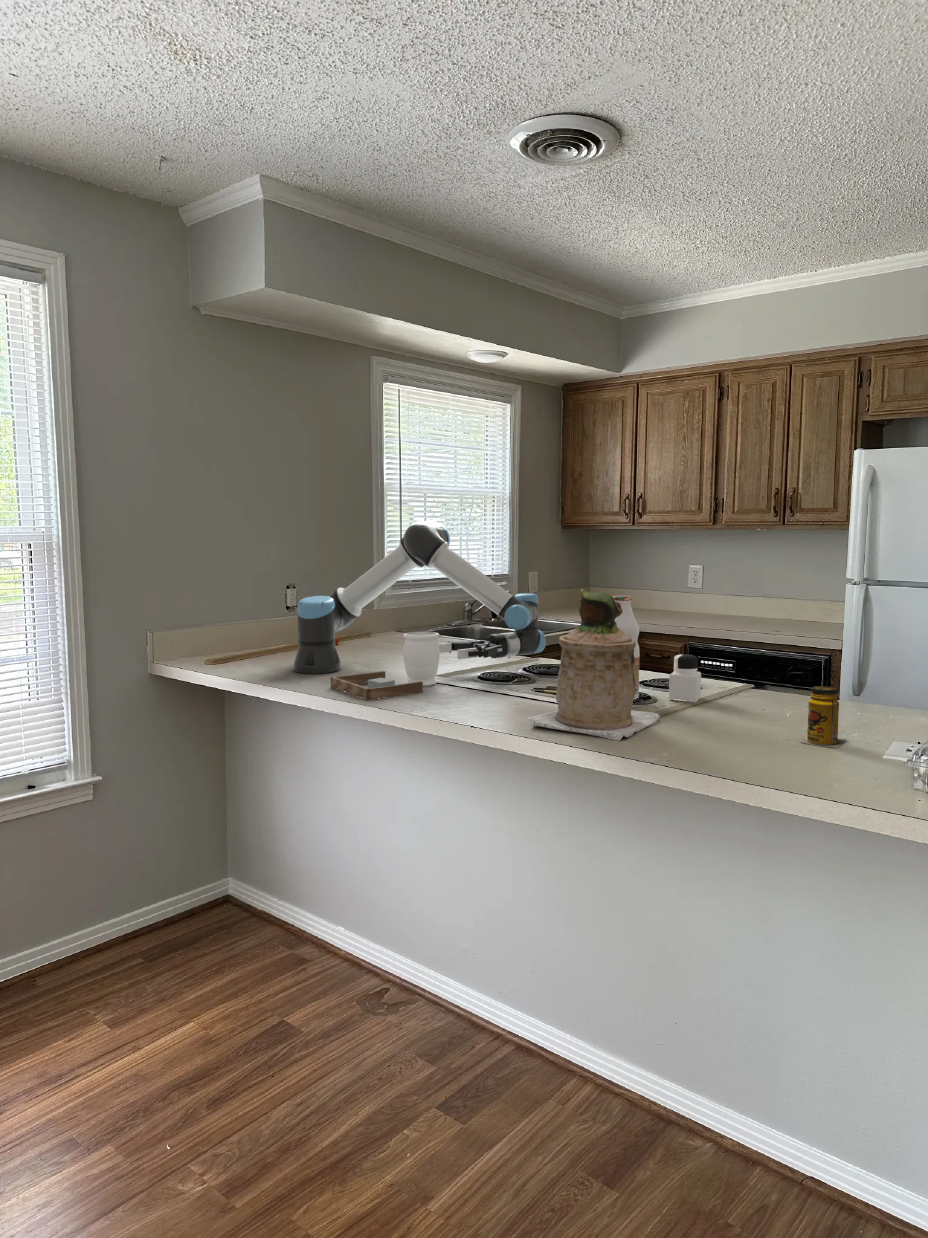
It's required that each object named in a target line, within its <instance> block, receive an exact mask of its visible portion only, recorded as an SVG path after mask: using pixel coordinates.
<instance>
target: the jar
mask: <svg viewBox="0 0 928 1238" xmlns="http://www.w3.org/2000/svg"><path fill="white" fill-rule="evenodd" d="M402 637H403V638H404V639H405V641H404V644H403V649H402V650H403V654H402V656H403V663H404V669H405V673H406V675H407V677H408V680H407V682H406V684H407V683H414V682H423V687H429V686H433V685H436V684H437V680H436V679H435V677H436V676H437V674H438V669H439V664H440V663H439V662H440V654H441V653H440V652H439V644H440V643H439V641H438V638H439V637H440V633H438V632H434V631H410V632H409V631H408V632H405V633H403V635H402Z"/></svg>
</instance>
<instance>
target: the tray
mask: <svg viewBox="0 0 928 1238" xmlns="http://www.w3.org/2000/svg"><path fill="white" fill-rule="evenodd" d="M376 678H385V679H386V671H385V670H382V671H380V670H379V671H373V672H372V671H371V672H364V673H356V674H346V675H339V676H330V688H331V687H333V688H332V689H334V688H337V689H339V690H342V691H346V692H347V693H346V694H348V693H350V694H349V695H351V694H353V695H352V696H354V695H355V696H354V697H356V696H359V697H362V698H364V699H363V700H365V699H367V700H366V701H370V700H369V699H375V700H379V699H378V698H382V699H384V698H383V697H389V698H395V697H394V696H396V697H402V696H410V695H417V694H422V693H423V692H424V686H423V682H414V683H407V682H406V683H401V684H395V685H391V686H384V687H376V688H368V687H365V686H363V685H367V684H366V683H368V680H371V679H376ZM357 684H360V685H357ZM337 689H336V690H337ZM339 690H338V691H339ZM342 691H341V692H342ZM359 697H358V698H359ZM362 698H361V699H362Z"/></svg>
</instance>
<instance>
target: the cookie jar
mask: <svg viewBox="0 0 928 1238" xmlns="http://www.w3.org/2000/svg"><path fill="white" fill-rule="evenodd" d="M579 591H580V596H581V599H580V601H579V603H580V605H579V607H578V608H577V610H578V614H579V617H580V619H581V620H580V621H581V623H580V624H579V625H578V626H577V627H575V628H574V629H573V630H572V631H570V632H569V633H567V634H565V635H564V634H563V635H560V636H559V638H558V644H559V645H560V648H561V655H560V663H559V670H558V673H557V683H556V692H555V693H556V694H555V695H556V696H555V697H556V703H557V707H558V709H555V710H553V711H550V712H544V713H541V714H537V715H534V716H529V717H528V721H529V723H530V727H531V729H534V728H535V727H536V726H537V727H543V728H547V729H552V730H559V731H566V732H570V733H571V732H572V733H573V732H574V733H578V734H583V735H584V734H585V735H590V736H596V737H601V738H605V739H609V740H614V741H621V740H622V738H623V737H625V738H630V737H631V736H632V735H634V734H635V733H638V732H640V731H642V730H644V729H645V728H648V727H649V726H651V725H654V724H656V723H657V722H658V721H659V720H660V718H661V716H660V714H659V713H656V712H652V711H640V710H632V707H633V705H634V703H633V700H634V696H635V680H634V674H633V665H634V660H635V658H634V648H635V646H636V641H635V640H634V639H632V638H631V637H630V636H629V635H628V634H627V633H626V632H624V631H621V630H620V629H619V628H618V627H617V624H616V622H615V618H616V617H618V616H620V615H621V614H622V612H623V610H622V608H621V605H620V603H619V602H617V601H614V599H613V596H612V595H610V594H608V593H607V592H588V591H586V590H585V589H579Z"/></svg>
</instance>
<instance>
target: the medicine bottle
mask: <svg viewBox="0 0 928 1238" xmlns="http://www.w3.org/2000/svg"><path fill="white" fill-rule="evenodd" d="M668 681H669V683H668V685H669V686H668V699H669V698H670V699H681V700H686V701H690V702H689V703H692V702H693V703H692V704H695V703H697V702H698V701H699V700H700V699H701V694H702V693H701V692H702V691H701V690H702V688H701V685H702V684H701V683H702V673H701V671H698V657H697V656H696V655H693V654H684V653H683V654H681V653H680V654H677V655H675V656H674V657H673V672H671V673H669V680H668Z"/></svg>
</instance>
